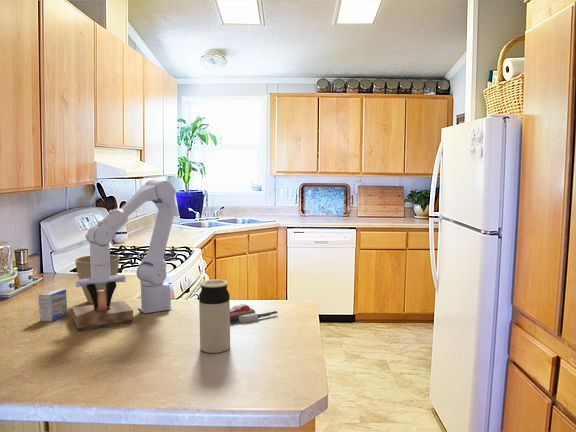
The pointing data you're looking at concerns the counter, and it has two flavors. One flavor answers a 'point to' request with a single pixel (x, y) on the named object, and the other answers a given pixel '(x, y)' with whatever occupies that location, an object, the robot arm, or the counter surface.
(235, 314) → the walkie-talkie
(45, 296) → the medicine box
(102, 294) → the peg
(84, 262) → the plant pot
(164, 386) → the counter surface
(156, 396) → the counter surface
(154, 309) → the robot arm
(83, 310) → the socket board
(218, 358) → the counter surface
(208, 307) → the travel mug
